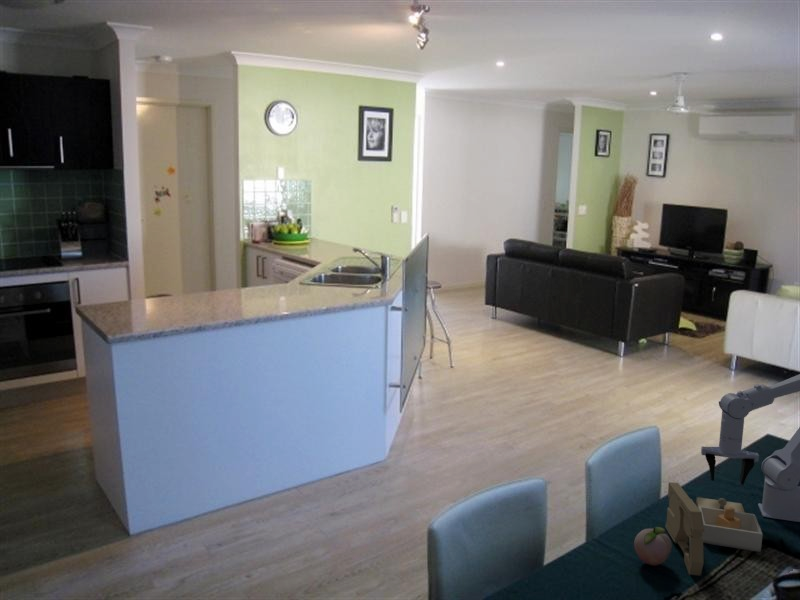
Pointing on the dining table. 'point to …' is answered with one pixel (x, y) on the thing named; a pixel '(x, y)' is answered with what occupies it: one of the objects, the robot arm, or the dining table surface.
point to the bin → (731, 530)
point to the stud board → (715, 502)
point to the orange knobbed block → (728, 519)
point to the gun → (686, 527)
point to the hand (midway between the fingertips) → (726, 481)
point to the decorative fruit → (653, 545)
